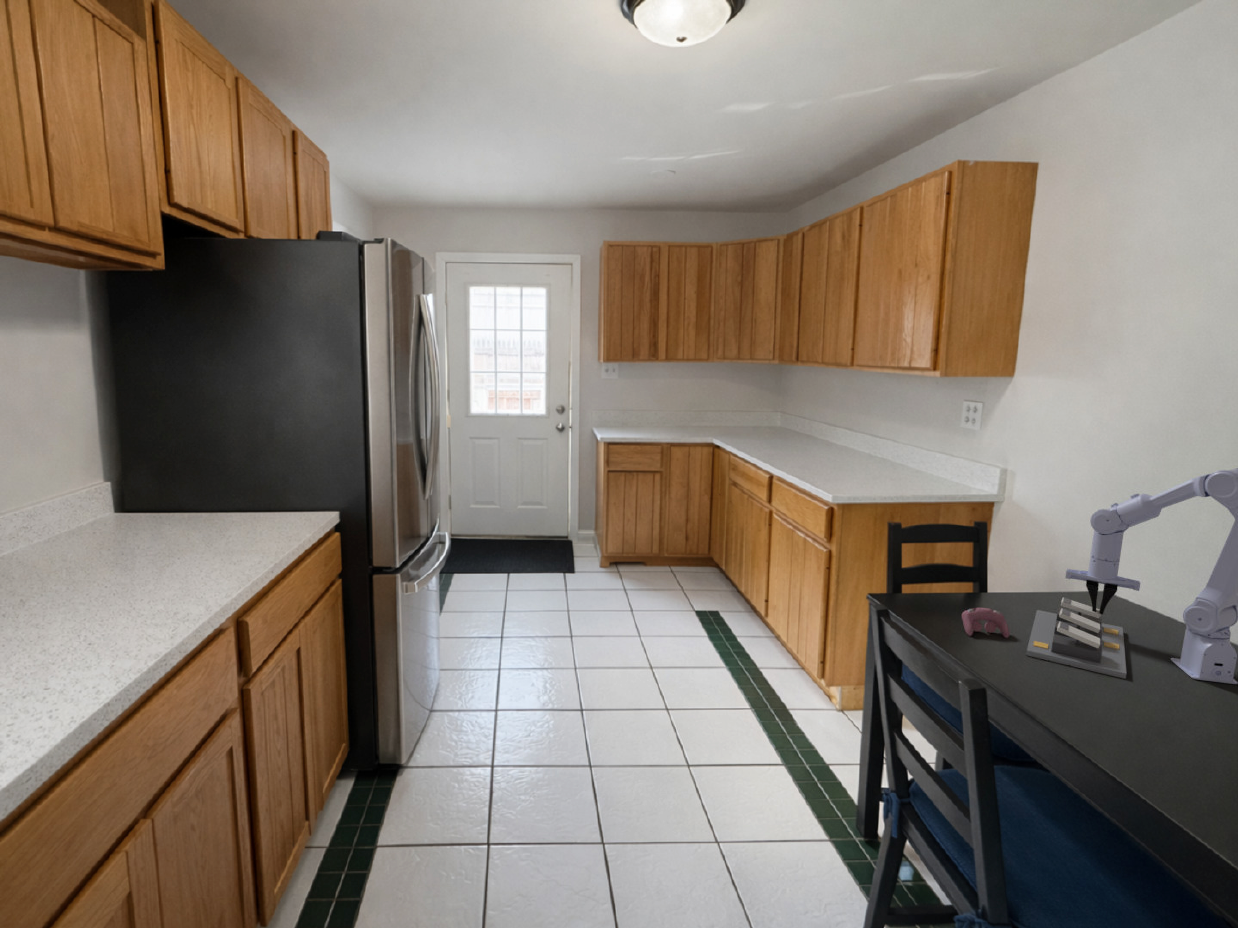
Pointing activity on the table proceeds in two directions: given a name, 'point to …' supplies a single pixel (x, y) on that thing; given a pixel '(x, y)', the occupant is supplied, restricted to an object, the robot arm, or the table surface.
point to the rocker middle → (1079, 620)
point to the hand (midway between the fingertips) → (1097, 612)
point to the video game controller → (989, 615)
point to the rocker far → (1080, 607)
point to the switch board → (1107, 653)
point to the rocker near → (1078, 634)
